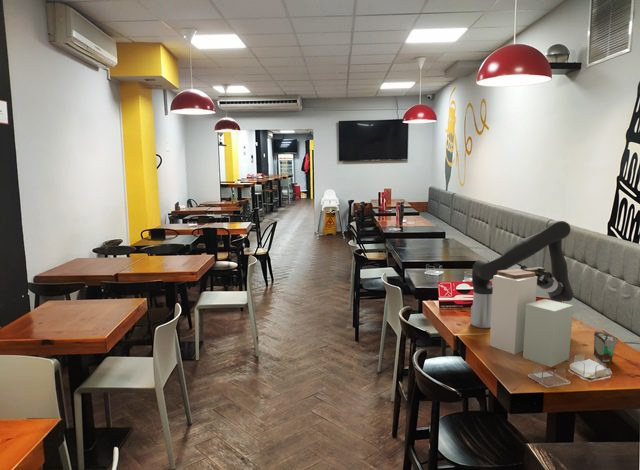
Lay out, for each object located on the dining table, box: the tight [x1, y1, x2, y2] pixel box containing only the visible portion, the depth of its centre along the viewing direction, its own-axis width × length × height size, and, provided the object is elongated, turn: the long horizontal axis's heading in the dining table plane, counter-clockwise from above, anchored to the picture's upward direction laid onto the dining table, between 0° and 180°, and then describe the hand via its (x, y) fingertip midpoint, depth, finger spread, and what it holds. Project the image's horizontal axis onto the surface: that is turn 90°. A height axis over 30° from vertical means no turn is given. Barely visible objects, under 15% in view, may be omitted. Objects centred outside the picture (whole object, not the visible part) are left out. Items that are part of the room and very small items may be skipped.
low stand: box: [522, 298, 574, 368], centre depth 192 cm, size 12×14×23 cm
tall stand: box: [489, 275, 538, 355], centre depth 204 cm, size 12×14×32 cm
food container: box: [593, 330, 618, 365], centre depth 192 cm, size 12×6×10 cm, turn 168°
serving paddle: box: [497, 266, 546, 279], centre depth 206 cm, size 10×22×2 cm, turn 114°
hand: (530, 268), depth 208 cm, fingers open, 7 cm apart
